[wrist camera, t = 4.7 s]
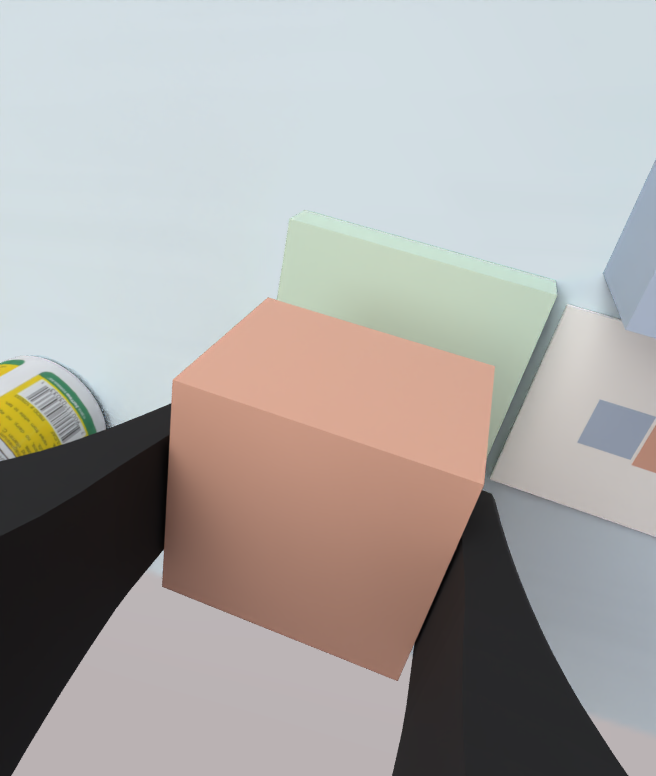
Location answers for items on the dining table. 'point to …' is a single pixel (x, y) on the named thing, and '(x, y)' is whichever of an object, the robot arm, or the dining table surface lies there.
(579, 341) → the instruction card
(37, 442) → the supplement bottle
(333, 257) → the plate
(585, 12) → the dining table surface
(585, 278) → the dining table surface
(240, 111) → the dining table surface
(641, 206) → the slate brick
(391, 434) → the terracotta brick
